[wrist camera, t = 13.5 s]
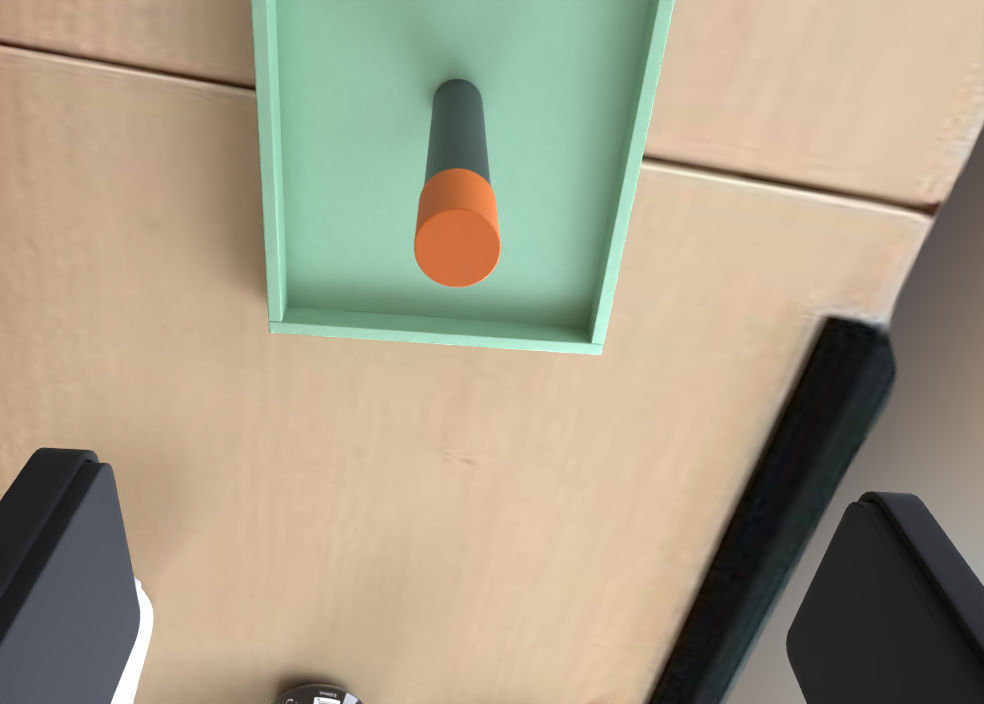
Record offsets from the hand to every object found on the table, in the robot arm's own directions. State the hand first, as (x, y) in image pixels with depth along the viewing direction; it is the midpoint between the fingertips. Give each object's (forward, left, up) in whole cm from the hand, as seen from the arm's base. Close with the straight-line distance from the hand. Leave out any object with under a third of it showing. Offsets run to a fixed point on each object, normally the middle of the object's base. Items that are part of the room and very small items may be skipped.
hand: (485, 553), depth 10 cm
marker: (+1, 0, -25) cm, 25 cm away
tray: (+1, 0, -26) cm, 26 cm away
